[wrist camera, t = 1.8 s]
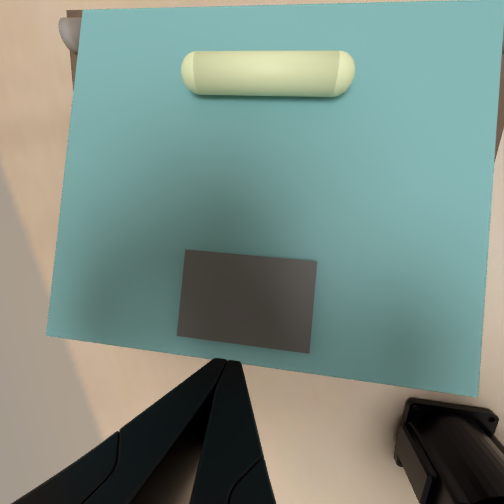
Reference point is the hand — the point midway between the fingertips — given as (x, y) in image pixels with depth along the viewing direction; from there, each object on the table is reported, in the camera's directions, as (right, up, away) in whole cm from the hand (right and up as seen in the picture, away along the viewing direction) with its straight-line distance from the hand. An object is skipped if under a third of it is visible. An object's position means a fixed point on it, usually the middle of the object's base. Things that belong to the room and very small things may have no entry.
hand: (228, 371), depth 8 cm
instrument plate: (+1, +7, +5) cm, 9 cm away
